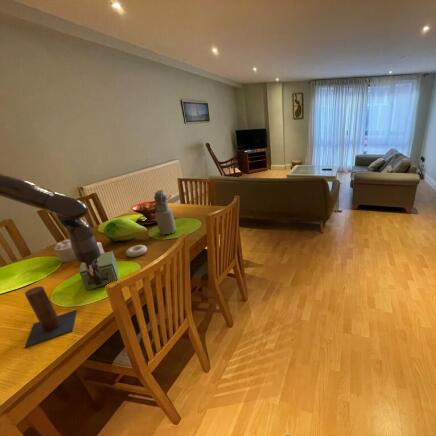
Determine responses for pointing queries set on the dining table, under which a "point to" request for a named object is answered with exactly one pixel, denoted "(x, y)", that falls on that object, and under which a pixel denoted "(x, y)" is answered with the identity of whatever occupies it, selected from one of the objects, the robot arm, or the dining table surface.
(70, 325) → the mat
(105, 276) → the drawer
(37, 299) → the pepper mill
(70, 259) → the lumpy-topped squat cylinder
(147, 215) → the red decorative bowl
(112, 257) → the cabinet
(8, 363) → the dining table surface
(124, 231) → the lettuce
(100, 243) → the medicine bottle
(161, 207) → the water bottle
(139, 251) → the donut
